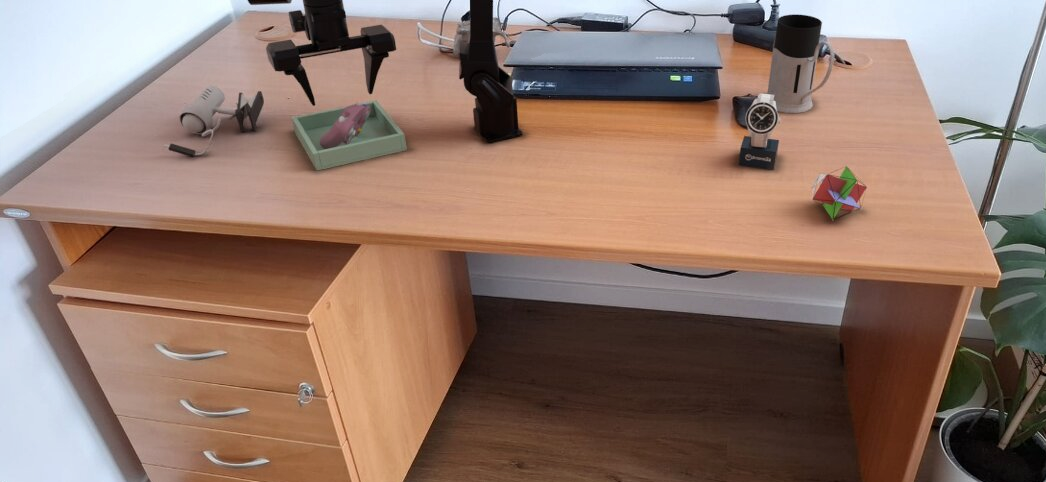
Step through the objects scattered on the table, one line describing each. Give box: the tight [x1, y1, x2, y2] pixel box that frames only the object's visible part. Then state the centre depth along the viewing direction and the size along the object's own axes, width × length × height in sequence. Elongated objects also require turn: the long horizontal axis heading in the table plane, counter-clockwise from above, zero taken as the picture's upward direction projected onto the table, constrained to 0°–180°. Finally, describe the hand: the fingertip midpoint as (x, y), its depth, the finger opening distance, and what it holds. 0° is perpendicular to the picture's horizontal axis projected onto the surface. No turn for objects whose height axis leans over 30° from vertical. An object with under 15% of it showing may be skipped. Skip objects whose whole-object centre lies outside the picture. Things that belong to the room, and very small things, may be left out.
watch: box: [738, 93, 782, 171], centre depth 127 cm, size 6×8×11 cm
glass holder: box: [766, 14, 835, 114], centre depth 143 cm, size 9×14×15 cm, turn 25°
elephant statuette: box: [452, 16, 511, 58], centre depth 167 cm, size 9×12×8 cm
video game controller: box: [320, 101, 371, 149], centre depth 135 cm, size 10×5×7 cm, turn 168°
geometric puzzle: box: [811, 165, 868, 221], centre depth 116 cm, size 7×7×8 cm
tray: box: [291, 100, 408, 172], centre depth 136 cm, size 15×16×3 cm
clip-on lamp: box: [163, 85, 265, 158], centre depth 137 cm, size 12×6×18 cm
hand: (342, 99), depth 132 cm, fingers open, 9 cm apart
